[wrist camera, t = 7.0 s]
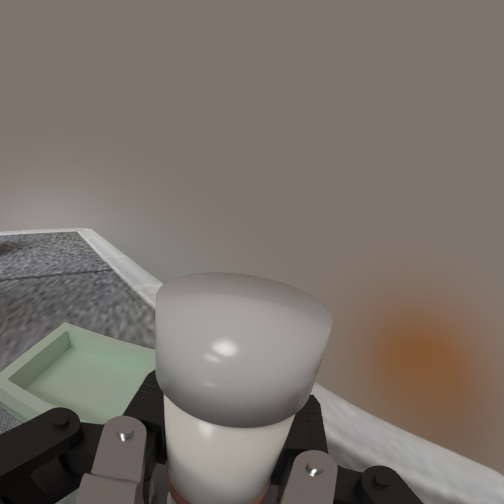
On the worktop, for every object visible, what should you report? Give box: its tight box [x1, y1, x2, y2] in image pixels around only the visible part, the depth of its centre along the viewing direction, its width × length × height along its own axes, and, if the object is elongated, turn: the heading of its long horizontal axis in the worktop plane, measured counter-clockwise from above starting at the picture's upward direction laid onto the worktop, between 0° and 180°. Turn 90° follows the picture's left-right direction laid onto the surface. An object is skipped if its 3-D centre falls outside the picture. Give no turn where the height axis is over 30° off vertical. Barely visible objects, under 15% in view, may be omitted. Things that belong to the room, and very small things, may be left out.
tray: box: [0, 322, 155, 424], centre depth 17 cm, size 10×10×2 cm
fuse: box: [155, 273, 332, 504], centre depth 8 cm, size 4×4×12 cm
